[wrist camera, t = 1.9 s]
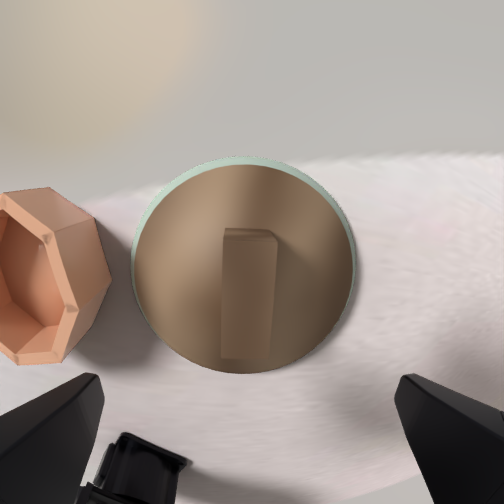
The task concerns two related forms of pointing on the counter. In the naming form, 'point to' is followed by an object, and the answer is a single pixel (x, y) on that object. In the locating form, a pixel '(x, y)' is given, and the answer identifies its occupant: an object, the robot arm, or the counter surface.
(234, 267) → the walnut lid
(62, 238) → the terracotta bowl
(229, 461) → the counter surface
